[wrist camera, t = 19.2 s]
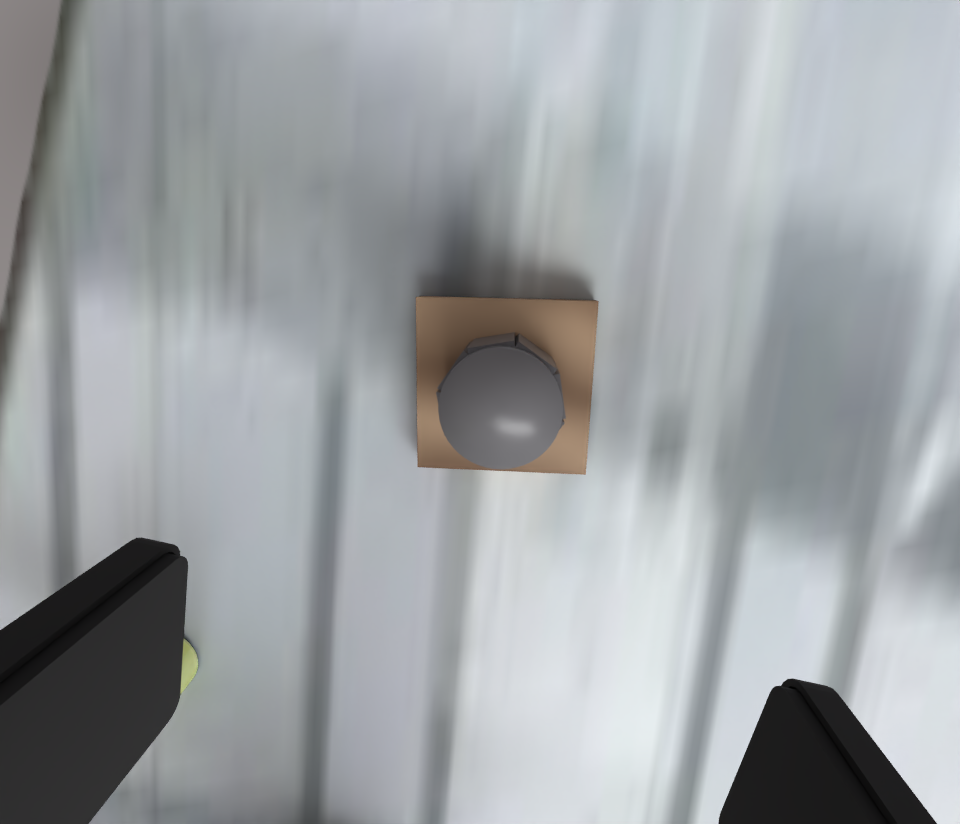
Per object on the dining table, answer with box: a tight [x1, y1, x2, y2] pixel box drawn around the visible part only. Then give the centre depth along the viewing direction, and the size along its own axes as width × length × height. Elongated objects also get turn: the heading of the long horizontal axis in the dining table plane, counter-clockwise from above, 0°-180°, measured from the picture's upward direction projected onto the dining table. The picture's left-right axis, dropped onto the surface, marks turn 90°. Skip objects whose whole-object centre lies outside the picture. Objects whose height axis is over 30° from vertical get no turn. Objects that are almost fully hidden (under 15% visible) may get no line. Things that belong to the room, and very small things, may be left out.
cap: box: [436, 332, 566, 469], centre depth 28 cm, size 6×6×5 cm
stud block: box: [416, 296, 598, 474], centre depth 29 cm, size 10×10×5 cm
